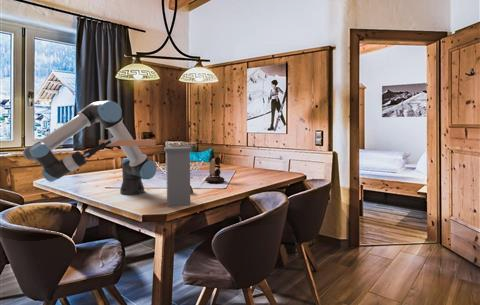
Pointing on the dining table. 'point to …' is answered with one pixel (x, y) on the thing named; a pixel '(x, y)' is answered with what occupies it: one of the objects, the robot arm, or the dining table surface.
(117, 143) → the slat
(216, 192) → the dining table surface
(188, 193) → the pedestal
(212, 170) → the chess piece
